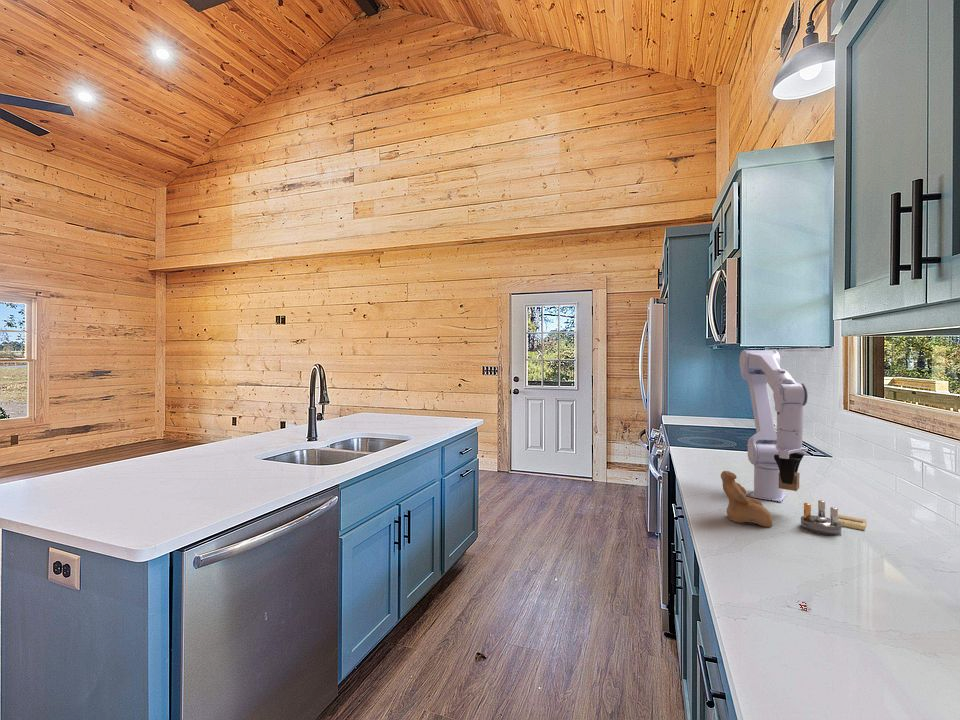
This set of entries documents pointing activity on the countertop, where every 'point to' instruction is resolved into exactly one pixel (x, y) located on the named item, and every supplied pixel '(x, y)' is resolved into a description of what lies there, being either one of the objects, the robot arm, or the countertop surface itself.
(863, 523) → the pad
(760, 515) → the figurine
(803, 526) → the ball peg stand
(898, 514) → the countertop surface
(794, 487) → the block
